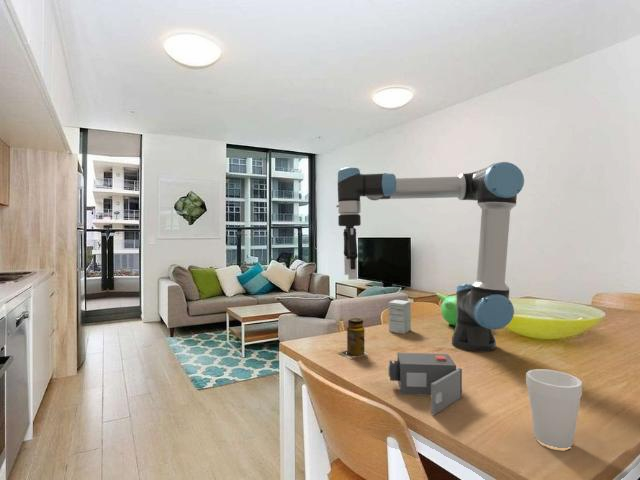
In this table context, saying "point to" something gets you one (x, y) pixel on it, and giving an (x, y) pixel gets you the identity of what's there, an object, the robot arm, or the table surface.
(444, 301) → the toy bird
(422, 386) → the camera box
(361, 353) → the condiment
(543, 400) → the foam cup
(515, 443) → the table surface
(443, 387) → the side door
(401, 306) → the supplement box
